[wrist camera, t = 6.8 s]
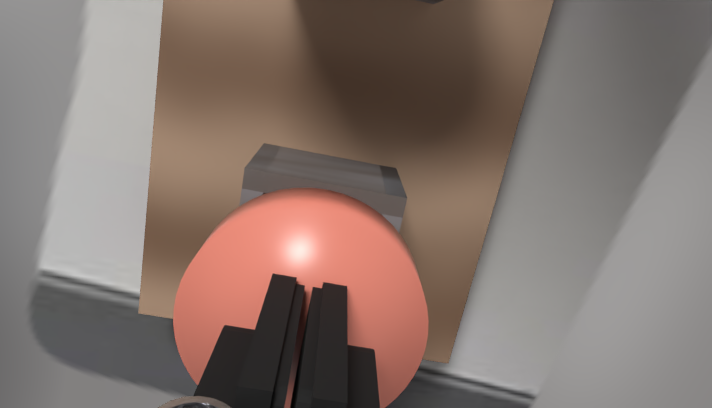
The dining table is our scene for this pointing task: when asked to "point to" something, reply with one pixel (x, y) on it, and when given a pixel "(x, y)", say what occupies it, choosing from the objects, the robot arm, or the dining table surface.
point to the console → (339, 125)
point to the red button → (307, 280)
